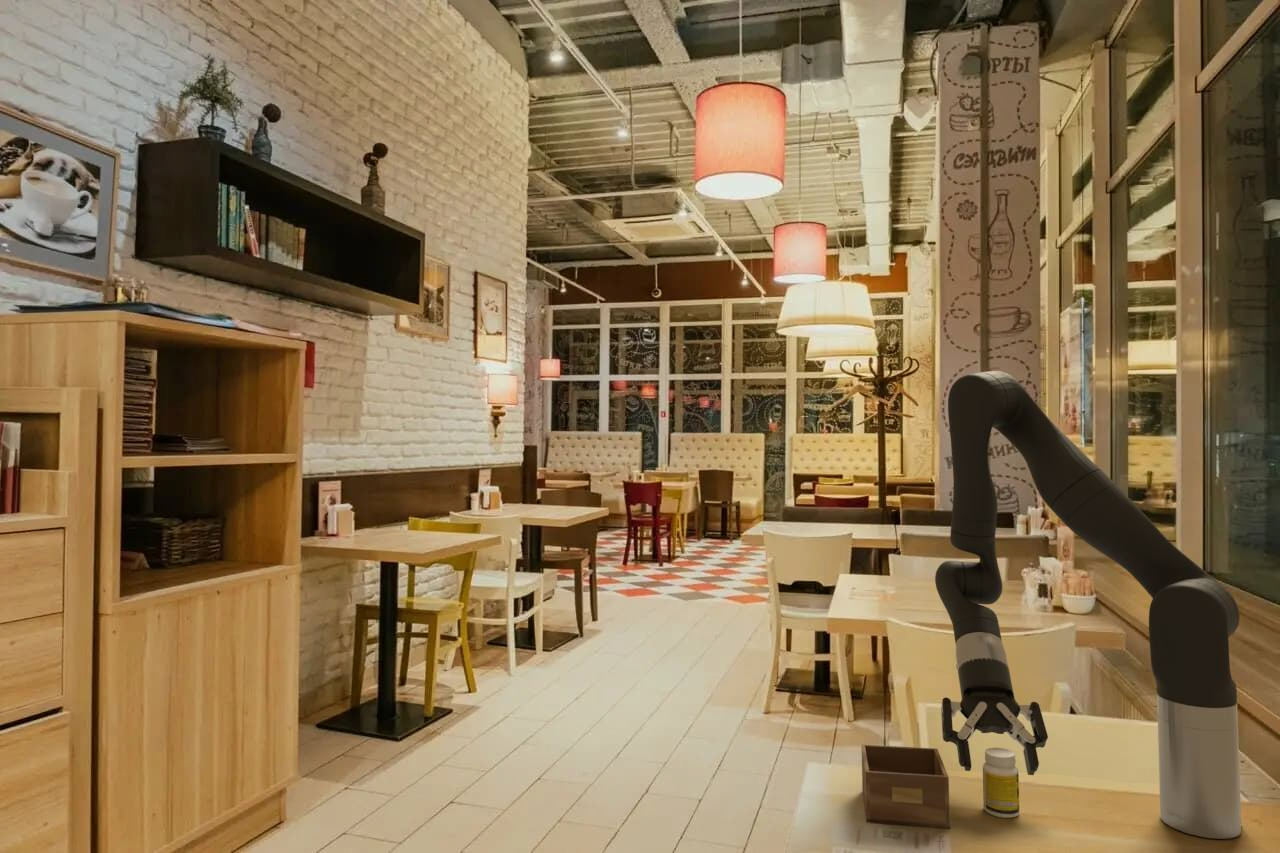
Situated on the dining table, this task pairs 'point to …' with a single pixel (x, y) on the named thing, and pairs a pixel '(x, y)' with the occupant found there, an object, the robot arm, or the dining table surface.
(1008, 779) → the supplement bottle
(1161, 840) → the dining table surface
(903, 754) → the wooden box
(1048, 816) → the dining table surface
